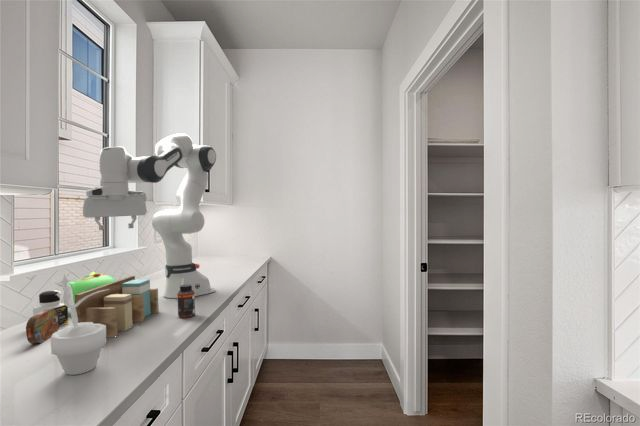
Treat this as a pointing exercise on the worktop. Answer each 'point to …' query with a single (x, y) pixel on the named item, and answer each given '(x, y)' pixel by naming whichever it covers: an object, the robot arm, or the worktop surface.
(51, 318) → the tin
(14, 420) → the worktop surface
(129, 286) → the teal tall rectangular block
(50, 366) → the worktop surface
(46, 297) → the medicine bottle
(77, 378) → the worktop surface
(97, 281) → the toy bird
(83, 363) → the potted plant
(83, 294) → the pantry shelf
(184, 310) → the supplement bottle
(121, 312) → the book box
